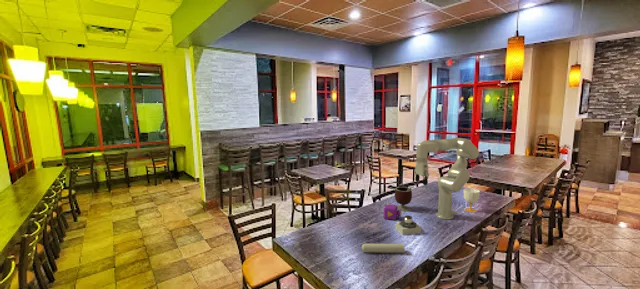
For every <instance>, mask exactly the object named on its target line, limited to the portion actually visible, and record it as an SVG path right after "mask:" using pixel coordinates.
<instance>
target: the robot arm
mask: <svg viewBox="0 0 640 289" xmlns="http://www.w3.org/2000/svg"><path fill="white" fill-rule="evenodd" d="M450 150H455V151H456V161H455V162H454V163H453V165H452V166H451V167H450V168H449V170H448V171H447V176H441V177H439V179H438V180H437V186H438V207H437V208H438V209H437V212H436V213H435V216H436V217H437V218H438V219H442V220H452V219H454V214H457V211H456V210H452V207H453V193H459V192H460V191H461V190H462V189H463V188H464V187H465V185H466V184H467V183H468V182H469V179H470V177H471V173H470V171H469V170H468V169H467V166H468V161H467V159H470V160H476V159H478V157H479V155H480V151H479V149H478V148H477V146H476V145H475V144H474V143H472V141H470V139H468V138H464V137H463V138H462V137H454V138H453V137H452V138H451V137H450V138H444V139H443V138H442V139H431V140H430V139H429V140H423V141H421V142H418V143H417V144H416V154H415V156H416V157H415V158H416V159H415V160H416V161H415V168H414V169H413V170H414V176H415V178H414V180H415V181H416V182H419V181H420V177H422V185H428V179H429V176H430V173H429V164H428V153H432V154H433V153H437V152H438V151H444V152H445V151H450Z"/></svg>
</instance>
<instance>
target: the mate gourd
mask: <svg viewBox="0 0 640 289" xmlns="http://www.w3.org/2000/svg"><path fill="white" fill-rule="evenodd" d="M414 188H415V186H411V187H407V186H398V187H396V188H394V190H395V191H394V199H395V202H396V203H397V210H399V209H401V211H402V212H410V210H411V207H410V206H408V205H409V204H410V203H411V202H412V198H413V193H412V189H414ZM398 204H399V205H398Z"/></svg>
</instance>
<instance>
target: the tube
mask: <svg viewBox="0 0 640 289" xmlns="http://www.w3.org/2000/svg"><path fill="white" fill-rule="evenodd" d="M405 250H406V248H405V244H404V243H363V244H362V245H361V251H362V252H363V253H369V254H370V253H372V254H373V253H379V254H381V253H382V254H385V253H387V254H394V253H395V254H405V252H406V251H405Z"/></svg>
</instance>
